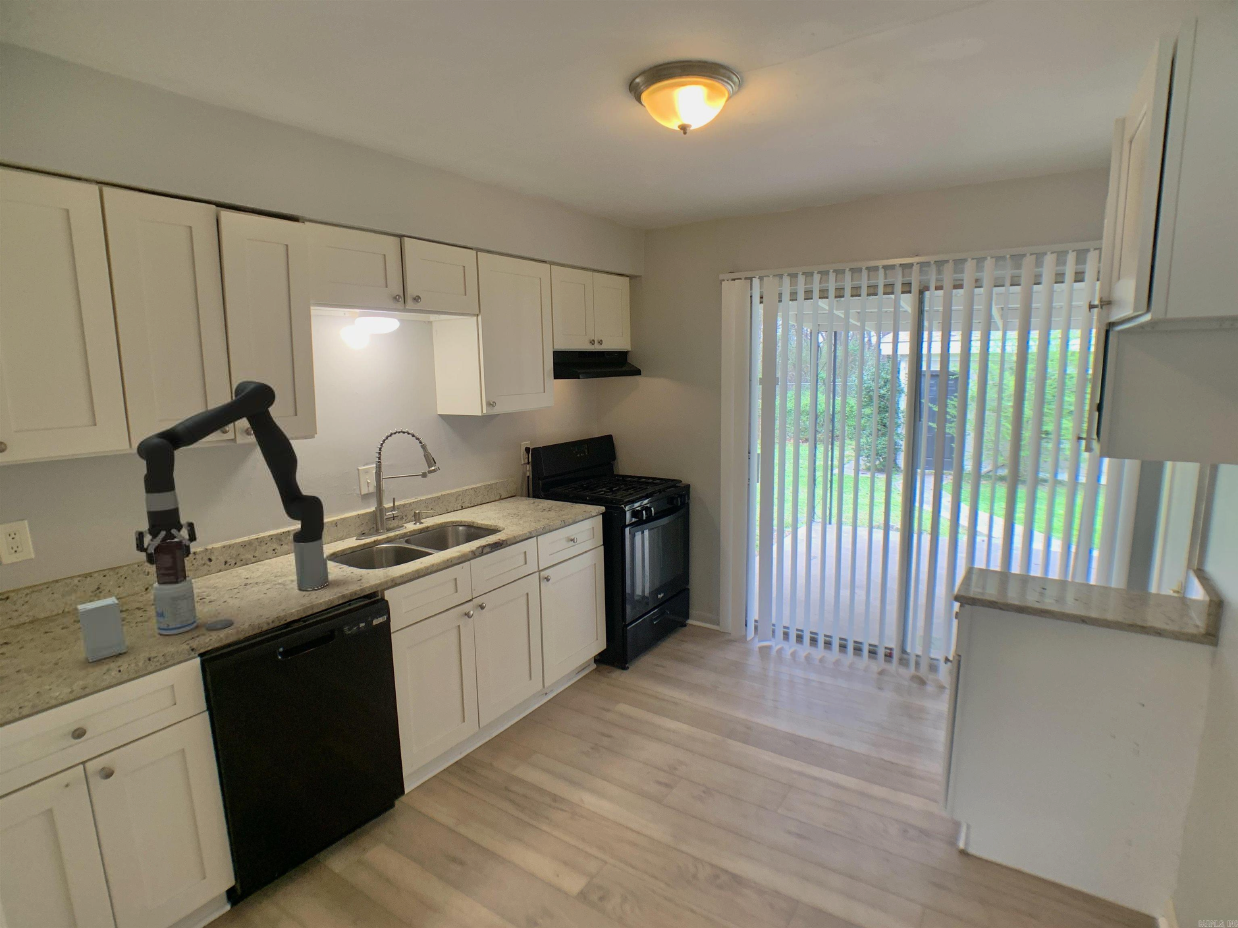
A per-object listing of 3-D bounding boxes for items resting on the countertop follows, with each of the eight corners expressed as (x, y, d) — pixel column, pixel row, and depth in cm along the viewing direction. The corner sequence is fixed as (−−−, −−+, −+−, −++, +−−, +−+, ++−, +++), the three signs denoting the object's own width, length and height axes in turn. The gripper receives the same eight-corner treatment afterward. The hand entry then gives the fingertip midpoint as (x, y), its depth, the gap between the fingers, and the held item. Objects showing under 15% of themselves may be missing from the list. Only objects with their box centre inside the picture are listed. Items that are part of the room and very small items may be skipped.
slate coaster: (227, 619, 188) (226, 617, 188) (237, 624, 184) (237, 622, 184) (201, 627, 182) (201, 625, 182) (212, 632, 178) (211, 630, 178)
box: (187, 578, 182) (183, 539, 180) (178, 583, 177) (173, 543, 175) (166, 579, 181) (161, 540, 179) (156, 584, 177) (151, 544, 175)
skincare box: (123, 646, 170) (116, 595, 168) (127, 652, 166) (120, 600, 164) (84, 656, 164) (76, 603, 162) (87, 663, 160) (79, 609, 158)
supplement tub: (150, 632, 179) (144, 584, 177) (184, 620, 187) (179, 574, 185) (170, 638, 175) (164, 589, 173) (204, 625, 184) (199, 578, 181)
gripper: (185, 500, 184) (191, 552, 186) (127, 509, 172) (135, 565, 174) (196, 503, 179) (202, 556, 182) (137, 513, 168) (145, 569, 170)
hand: (169, 560), depth 178 cm, fingers open, 8 cm apart
